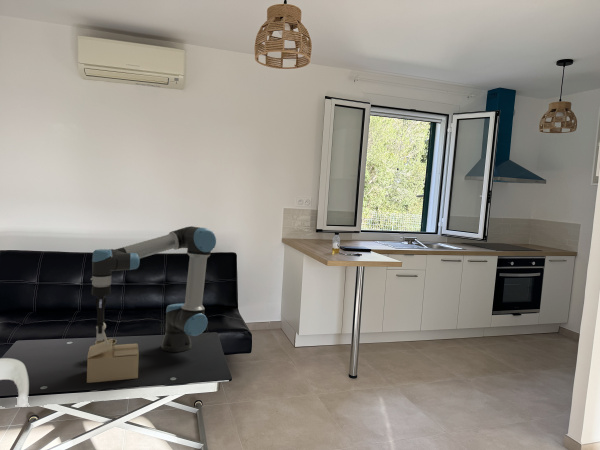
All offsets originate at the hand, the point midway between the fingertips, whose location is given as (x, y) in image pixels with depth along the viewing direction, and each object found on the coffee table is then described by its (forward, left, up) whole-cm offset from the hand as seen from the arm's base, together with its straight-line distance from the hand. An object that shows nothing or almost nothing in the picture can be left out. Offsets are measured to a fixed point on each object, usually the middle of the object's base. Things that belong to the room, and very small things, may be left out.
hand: (100, 338), depth 189 cm
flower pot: (-2, -20, -17) cm, 26 cm away
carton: (-6, 0, -16) cm, 17 cm away
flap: (0, 0, -4) cm, 4 cm away
